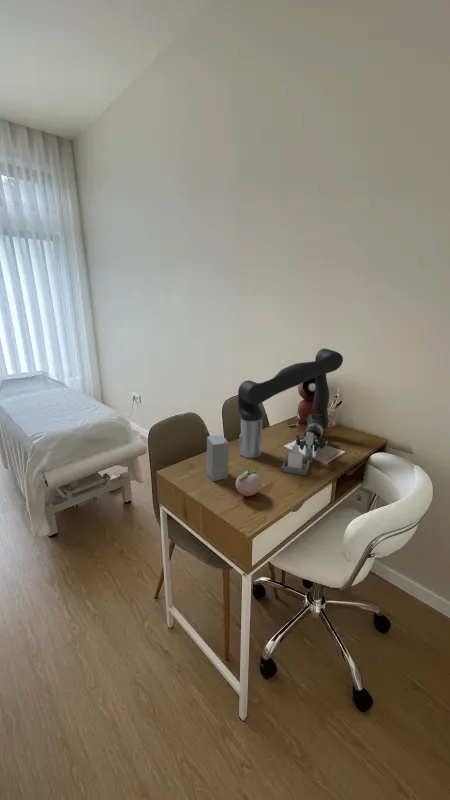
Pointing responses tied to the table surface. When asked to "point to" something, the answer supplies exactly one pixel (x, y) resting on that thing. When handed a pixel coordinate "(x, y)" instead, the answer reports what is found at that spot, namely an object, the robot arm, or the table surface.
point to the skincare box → (217, 457)
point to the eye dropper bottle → (295, 457)
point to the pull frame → (304, 459)
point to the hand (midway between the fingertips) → (308, 448)
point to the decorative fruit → (248, 483)
